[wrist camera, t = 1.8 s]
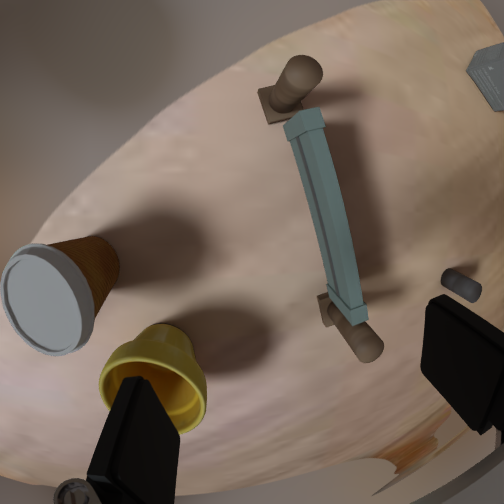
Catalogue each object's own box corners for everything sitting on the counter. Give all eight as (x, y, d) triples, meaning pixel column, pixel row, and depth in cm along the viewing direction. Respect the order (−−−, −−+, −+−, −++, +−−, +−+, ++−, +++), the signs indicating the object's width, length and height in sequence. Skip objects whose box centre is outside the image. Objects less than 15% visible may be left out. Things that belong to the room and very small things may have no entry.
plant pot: (228, 351, 33) (230, 409, 23) (170, 392, 34) (159, 448, 24) (164, 290, 30) (140, 336, 21) (109, 340, 31) (79, 390, 22)
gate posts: (453, 282, 33) (501, 310, 24) (326, 338, 33) (356, 390, 24) (414, 70, 26) (466, 48, 16) (257, 92, 26) (271, 53, 16)
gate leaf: (342, 292, 30) (368, 319, 24) (329, 297, 30) (352, 326, 24) (298, 122, 26) (319, 106, 19) (282, 125, 26) (299, 110, 19)
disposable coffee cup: (64, 213, 27) (-6, 235, 16) (139, 231, 29) (90, 265, 17) (59, 291, 29) (3, 338, 18) (128, 313, 31) (89, 376, 19)
